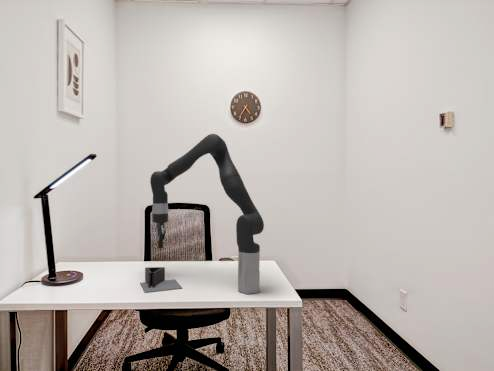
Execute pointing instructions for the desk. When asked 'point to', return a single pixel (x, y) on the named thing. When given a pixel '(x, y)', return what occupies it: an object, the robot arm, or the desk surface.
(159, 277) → the phone stand
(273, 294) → the desk surface
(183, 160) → the robot arm
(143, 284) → the mat
